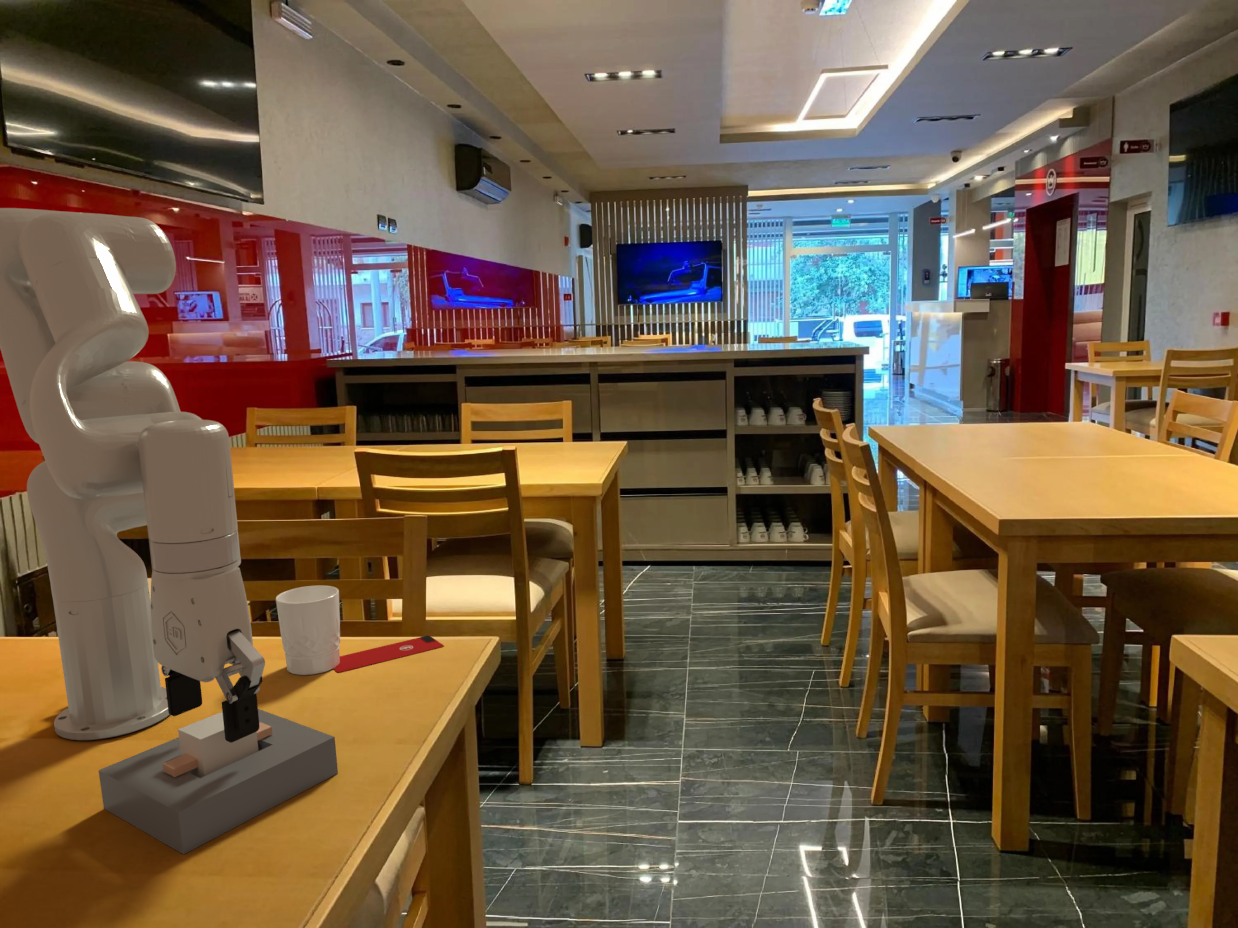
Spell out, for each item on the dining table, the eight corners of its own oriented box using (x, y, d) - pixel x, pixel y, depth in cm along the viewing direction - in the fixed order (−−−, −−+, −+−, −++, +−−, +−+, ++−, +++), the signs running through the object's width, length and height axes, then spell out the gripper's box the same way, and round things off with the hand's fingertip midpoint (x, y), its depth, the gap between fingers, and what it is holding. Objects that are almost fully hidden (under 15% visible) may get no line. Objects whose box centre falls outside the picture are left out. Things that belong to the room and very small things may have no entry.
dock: (103, 808, 83) (98, 769, 82) (256, 740, 96) (252, 706, 95) (183, 854, 75) (178, 812, 74) (337, 772, 88) (334, 736, 87)
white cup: (300, 654, 121) (294, 585, 120) (354, 655, 120) (348, 585, 118) (271, 676, 113) (263, 603, 112) (328, 678, 112) (321, 603, 111)
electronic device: (337, 675, 114) (445, 649, 122) (337, 671, 114) (444, 645, 122) (325, 663, 119) (429, 638, 127) (324, 659, 119) (429, 634, 127)
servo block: (161, 798, 82) (154, 738, 81) (258, 754, 90) (252, 699, 89) (184, 810, 80) (176, 749, 79) (281, 764, 88) (275, 708, 87)
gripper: (108, 548, 83) (128, 715, 86) (209, 577, 74) (228, 764, 77) (184, 532, 89) (201, 688, 92) (287, 556, 80) (302, 730, 83)
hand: (213, 722), depth 85 cm, fingers open, 9 cm apart
